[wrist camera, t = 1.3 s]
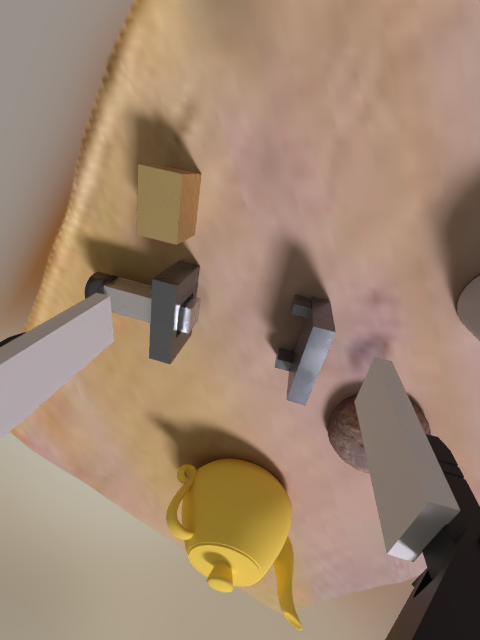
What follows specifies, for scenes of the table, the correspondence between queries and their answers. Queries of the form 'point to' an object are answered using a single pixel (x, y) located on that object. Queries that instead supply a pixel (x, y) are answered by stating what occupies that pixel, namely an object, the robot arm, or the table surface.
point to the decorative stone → (355, 433)
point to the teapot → (236, 526)
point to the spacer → (167, 203)
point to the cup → (470, 307)
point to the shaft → (138, 299)
